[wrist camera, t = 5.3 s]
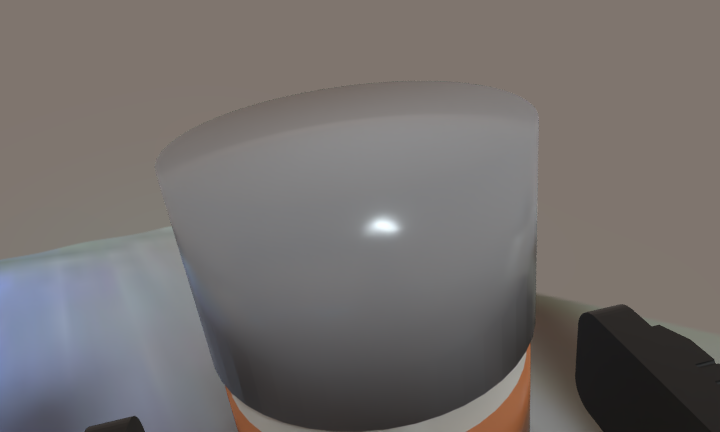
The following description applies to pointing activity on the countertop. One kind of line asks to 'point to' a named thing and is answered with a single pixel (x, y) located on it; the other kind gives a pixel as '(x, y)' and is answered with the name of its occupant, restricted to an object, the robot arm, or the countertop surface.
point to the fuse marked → (364, 256)
